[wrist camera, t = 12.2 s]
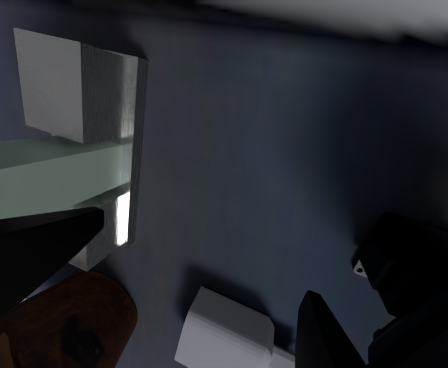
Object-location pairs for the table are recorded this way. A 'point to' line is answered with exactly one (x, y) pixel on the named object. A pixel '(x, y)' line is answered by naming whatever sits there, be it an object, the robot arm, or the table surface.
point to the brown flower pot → (69, 325)
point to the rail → (89, 119)
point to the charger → (228, 336)
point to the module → (54, 173)
